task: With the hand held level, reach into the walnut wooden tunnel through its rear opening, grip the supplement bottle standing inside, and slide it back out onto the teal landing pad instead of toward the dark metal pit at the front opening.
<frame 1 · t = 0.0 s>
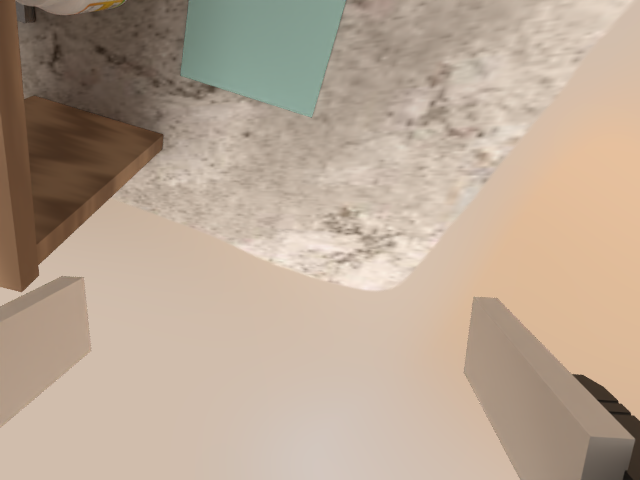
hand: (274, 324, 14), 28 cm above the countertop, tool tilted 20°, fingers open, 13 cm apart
landing pad: (262, 24, 34), on the countertop
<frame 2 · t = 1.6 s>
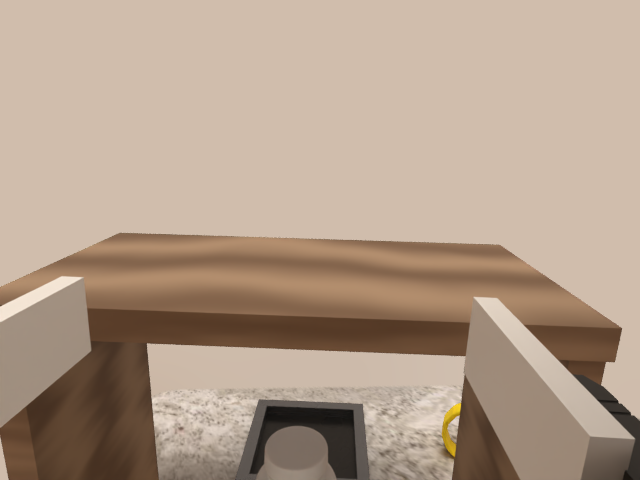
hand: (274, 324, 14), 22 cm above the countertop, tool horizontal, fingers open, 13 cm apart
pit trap: (306, 449, 39), on the countertop
watch: (473, 461, 39), on the countertop
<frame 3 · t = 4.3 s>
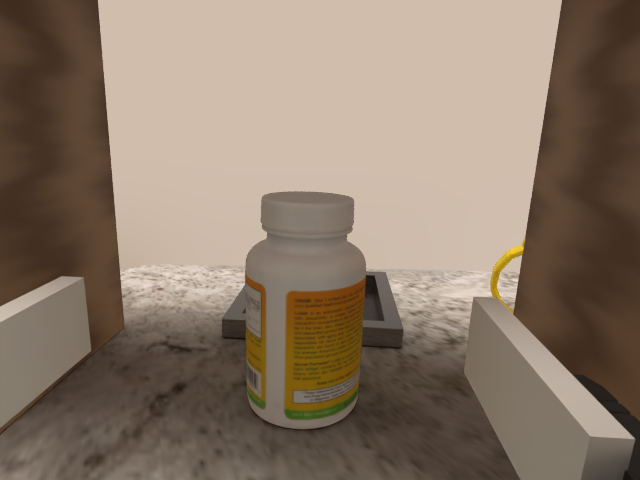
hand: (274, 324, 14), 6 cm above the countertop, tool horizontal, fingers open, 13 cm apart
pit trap: (316, 307, 31), on the countertop
watch: (531, 323, 30), on the countertop
supplement bottle: (302, 399, 20), on the countertop
tunnel: (302, 395, 20), on the countertop
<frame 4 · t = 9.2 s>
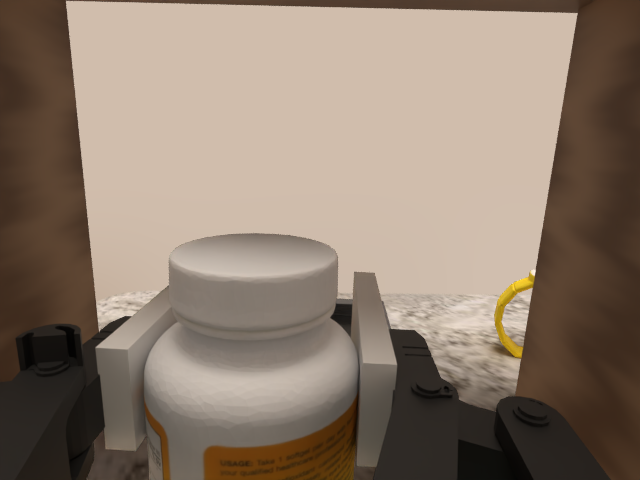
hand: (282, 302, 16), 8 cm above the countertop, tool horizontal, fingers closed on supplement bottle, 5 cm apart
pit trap: (310, 343, 29), on the countertop
watch: (537, 360, 28), on the countertop
tunnel: (295, 461, 18), on the countertop
when the fingers open (7 cm above the countertop, at t = 11.4 s): supplement bottle stays where it is, resting on landing pad.
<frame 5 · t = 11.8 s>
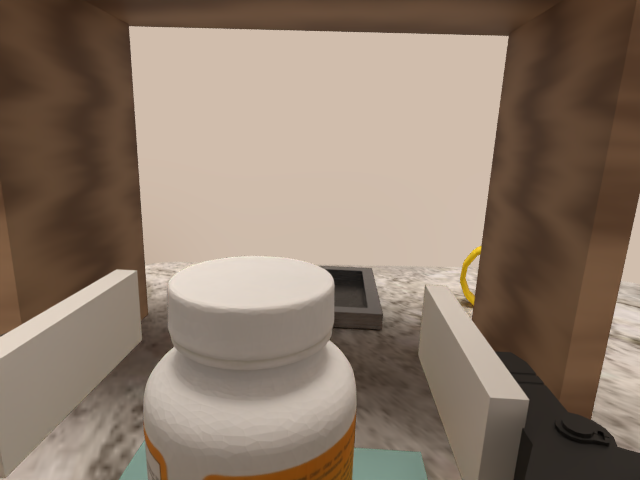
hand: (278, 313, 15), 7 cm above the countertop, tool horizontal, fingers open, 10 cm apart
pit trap: (311, 297, 36), on the countertop
watch: (494, 311, 35), on the countertop
tunnel: (298, 364, 25), on the countertop
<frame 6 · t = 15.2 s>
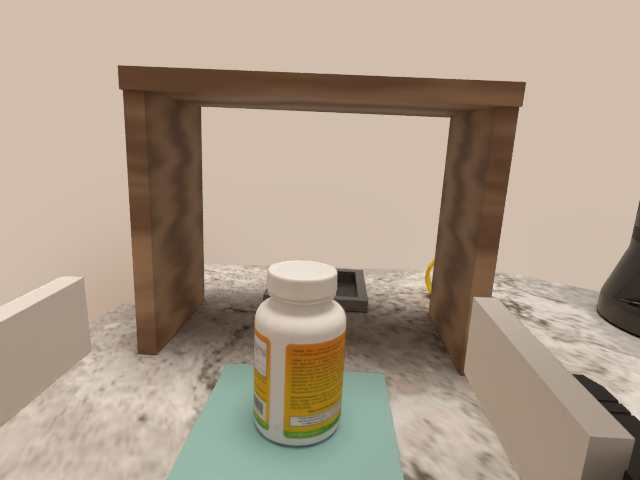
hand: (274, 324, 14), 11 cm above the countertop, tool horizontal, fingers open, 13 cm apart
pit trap: (317, 290, 49), on the countertop
supplement bottle: (296, 421, 26), resting on landing pad
landing pad: (296, 422, 26), on the countertop
tunnel: (311, 331, 39), on the countertop
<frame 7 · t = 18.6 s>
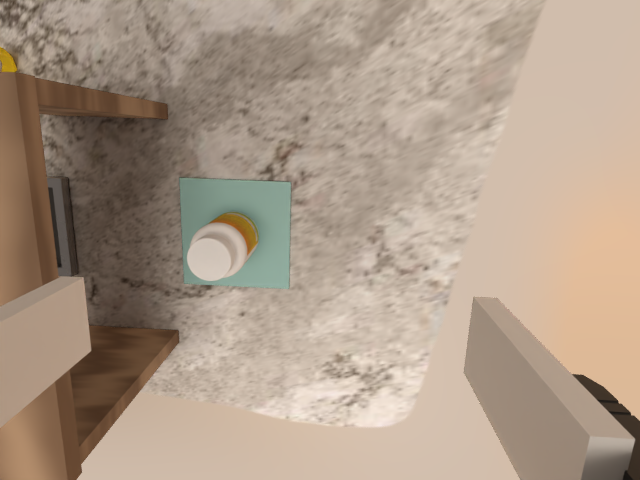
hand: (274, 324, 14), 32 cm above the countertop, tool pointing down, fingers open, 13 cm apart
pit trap: (25, 224, 47), on the countertop
watch: (10, 79, 44), on the countertop
supplement bottle: (236, 234, 46), resting on landing pad
landing pad: (236, 234, 46), on the countertop
tunnel: (120, 228, 47), on the countertop
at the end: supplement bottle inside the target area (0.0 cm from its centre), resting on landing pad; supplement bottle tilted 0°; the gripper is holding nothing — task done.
